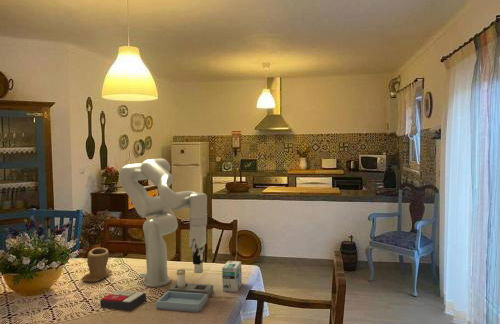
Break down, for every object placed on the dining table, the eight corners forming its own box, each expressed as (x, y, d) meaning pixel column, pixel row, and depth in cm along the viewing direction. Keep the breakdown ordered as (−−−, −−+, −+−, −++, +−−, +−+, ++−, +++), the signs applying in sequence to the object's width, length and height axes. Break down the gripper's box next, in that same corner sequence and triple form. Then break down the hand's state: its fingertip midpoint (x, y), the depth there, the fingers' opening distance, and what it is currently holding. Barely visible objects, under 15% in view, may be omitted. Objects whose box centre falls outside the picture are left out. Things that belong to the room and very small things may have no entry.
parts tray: (156, 308, 158) (156, 301, 158) (168, 298, 169) (167, 291, 169) (198, 312, 154) (198, 304, 154) (207, 300, 165) (207, 293, 165)
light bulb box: (236, 292, 174) (236, 268, 173) (222, 291, 175) (221, 267, 174) (242, 283, 184) (241, 261, 184) (228, 282, 185) (227, 260, 185)
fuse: (175, 294, 173) (175, 271, 172) (179, 290, 177) (178, 269, 176) (183, 294, 172) (183, 272, 172) (187, 291, 176) (186, 269, 175)
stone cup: (99, 284, 187) (98, 253, 186) (78, 282, 190) (77, 252, 189) (118, 274, 201) (117, 245, 201) (99, 272, 205) (97, 243, 204)
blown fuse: (192, 272, 171) (192, 250, 170) (196, 269, 175) (196, 247, 174) (201, 273, 170) (201, 251, 169) (204, 270, 174) (204, 248, 173)
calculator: (116, 289, 172) (145, 291, 167) (117, 298, 172) (146, 301, 167) (99, 298, 161) (129, 301, 156) (100, 309, 162) (130, 311, 156)
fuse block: (168, 295, 172) (168, 288, 171) (175, 288, 179) (175, 282, 179) (207, 298, 168) (207, 291, 167) (213, 291, 175) (213, 284, 175)
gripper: (196, 216, 180) (197, 256, 181) (182, 225, 163) (183, 268, 165) (212, 217, 178) (212, 257, 179) (199, 226, 162) (200, 269, 163)
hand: (198, 262), depth 172 cm, fingers closed on blown fuse, 3 cm apart
